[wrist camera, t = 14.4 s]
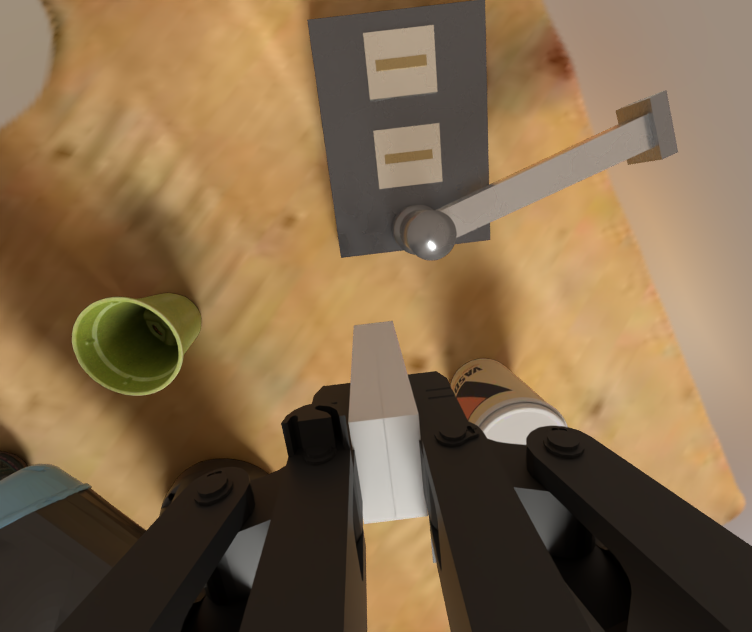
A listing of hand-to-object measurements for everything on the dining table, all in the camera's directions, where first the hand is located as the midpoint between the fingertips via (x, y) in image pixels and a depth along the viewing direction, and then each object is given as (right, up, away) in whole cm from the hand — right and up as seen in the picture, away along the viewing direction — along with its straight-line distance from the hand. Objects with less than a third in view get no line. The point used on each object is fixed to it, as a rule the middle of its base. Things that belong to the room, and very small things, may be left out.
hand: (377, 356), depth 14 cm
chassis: (+3, +19, +22) cm, 29 cm away
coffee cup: (+13, -7, +30) cm, 34 cm away
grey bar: (+12, +13, +18) cm, 25 cm away
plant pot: (-22, +1, +27) cm, 35 cm away
